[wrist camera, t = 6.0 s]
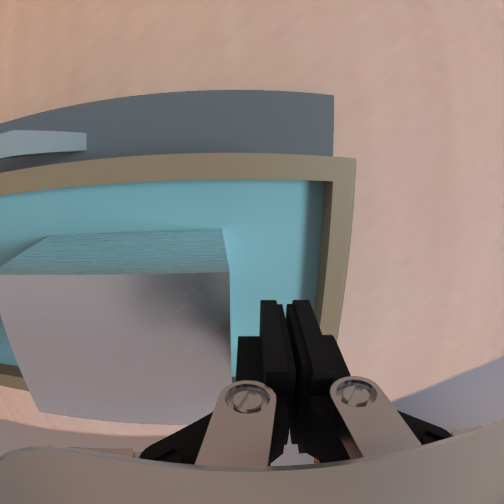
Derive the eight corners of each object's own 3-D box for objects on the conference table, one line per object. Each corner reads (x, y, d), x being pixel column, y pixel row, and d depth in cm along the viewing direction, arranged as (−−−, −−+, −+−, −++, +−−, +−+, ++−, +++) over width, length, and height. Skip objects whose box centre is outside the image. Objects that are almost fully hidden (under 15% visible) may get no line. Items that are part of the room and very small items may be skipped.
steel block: (74, 347, 14) (39, 411, 9) (50, 235, 12) (-11, 274, 8) (224, 349, 15) (233, 423, 10) (222, 228, 13) (229, 272, 9)
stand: (-18, 331, 24) (-64, 375, 16) (-49, 143, 18) (-115, 153, 10) (310, 362, 25) (332, 445, 16) (329, 98, 19) (383, 65, 10)
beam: (-75, 339, 15) (-93, 356, 12) (-108, 200, 11) (-132, 209, 8) (311, 361, 19) (327, 393, 16) (330, 156, 15) (356, 158, 12)
